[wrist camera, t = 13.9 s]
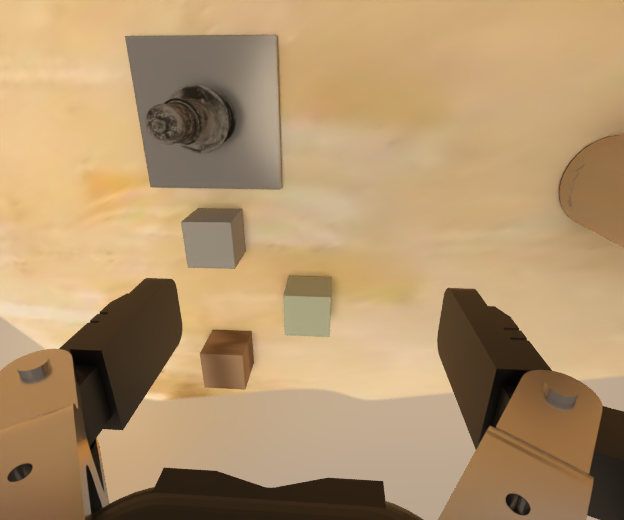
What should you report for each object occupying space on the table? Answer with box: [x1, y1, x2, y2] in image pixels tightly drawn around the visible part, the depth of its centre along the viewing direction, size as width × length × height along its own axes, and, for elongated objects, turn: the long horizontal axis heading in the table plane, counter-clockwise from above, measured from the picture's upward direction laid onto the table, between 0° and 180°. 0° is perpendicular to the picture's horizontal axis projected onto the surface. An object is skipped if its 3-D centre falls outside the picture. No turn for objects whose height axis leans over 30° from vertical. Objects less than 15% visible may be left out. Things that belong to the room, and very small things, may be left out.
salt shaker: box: [146, 84, 236, 153], centre depth 32 cm, size 6×6×12 cm
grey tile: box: [125, 35, 282, 189], centre depth 38 cm, size 14×14×1 cm
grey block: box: [181, 208, 246, 269], centre depth 41 cm, size 5×5×5 cm
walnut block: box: [200, 330, 254, 389], centre depth 47 cm, size 5×5×5 cm
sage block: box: [284, 276, 331, 337], centre depth 43 cm, size 5×5×5 cm
